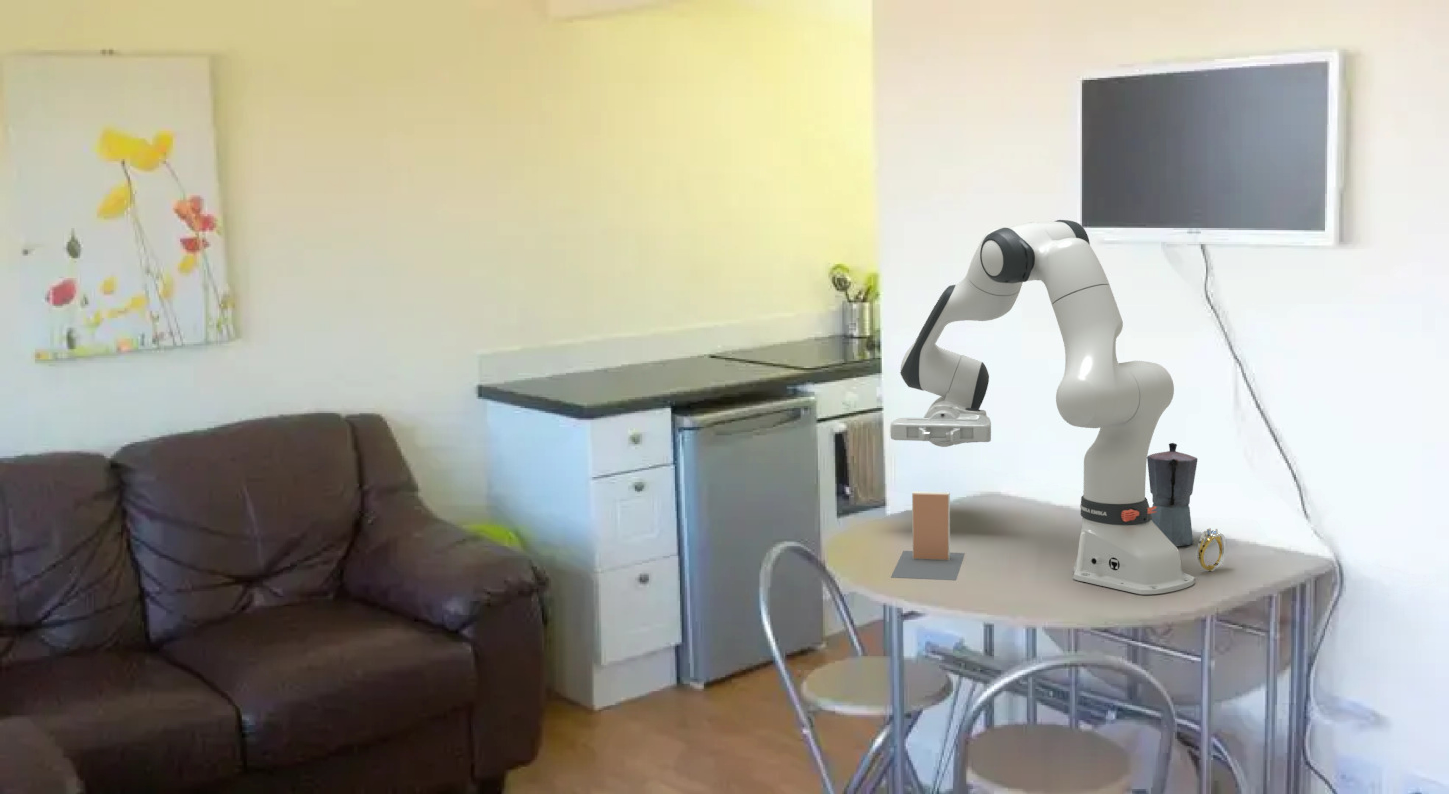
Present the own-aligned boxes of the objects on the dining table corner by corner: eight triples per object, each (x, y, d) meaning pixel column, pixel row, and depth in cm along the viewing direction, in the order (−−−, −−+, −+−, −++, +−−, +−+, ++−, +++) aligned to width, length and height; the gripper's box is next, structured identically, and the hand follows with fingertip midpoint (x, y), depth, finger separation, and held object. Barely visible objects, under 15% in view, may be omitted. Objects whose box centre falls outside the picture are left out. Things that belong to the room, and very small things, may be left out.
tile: (913, 556, 297) (913, 491, 295) (949, 558, 296) (949, 492, 293) (912, 559, 296) (912, 493, 293) (949, 560, 294) (948, 494, 292)
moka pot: (1191, 534, 311) (1193, 437, 307) (1201, 554, 296) (1203, 452, 292) (1142, 533, 312) (1144, 436, 309) (1149, 553, 297) (1151, 452, 294)
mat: (903, 553, 302) (903, 550, 302) (964, 555, 299) (964, 553, 299) (890, 580, 284) (890, 577, 284) (955, 582, 281) (955, 580, 281)
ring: (1204, 576, 281) (1205, 533, 280) (1191, 572, 284) (1192, 530, 282) (1231, 570, 284) (1232, 528, 283) (1218, 566, 287) (1219, 524, 286)
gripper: (894, 408, 319) (885, 420, 306) (993, 410, 314) (988, 422, 301) (894, 438, 320) (885, 451, 307) (993, 440, 315) (988, 454, 302)
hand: (937, 437), depth 304 cm, fingers open, 3 cm apart
